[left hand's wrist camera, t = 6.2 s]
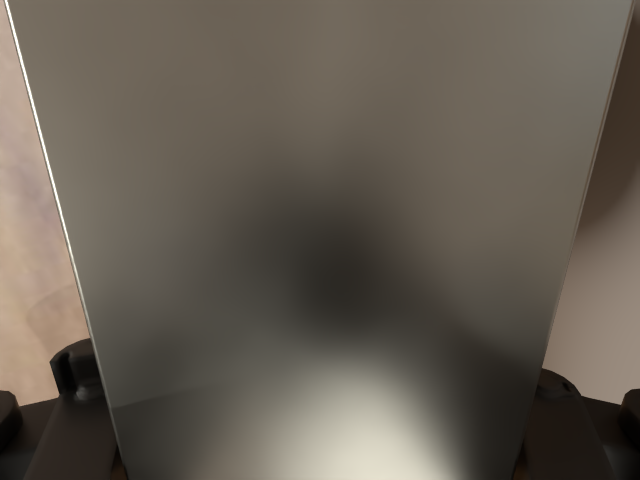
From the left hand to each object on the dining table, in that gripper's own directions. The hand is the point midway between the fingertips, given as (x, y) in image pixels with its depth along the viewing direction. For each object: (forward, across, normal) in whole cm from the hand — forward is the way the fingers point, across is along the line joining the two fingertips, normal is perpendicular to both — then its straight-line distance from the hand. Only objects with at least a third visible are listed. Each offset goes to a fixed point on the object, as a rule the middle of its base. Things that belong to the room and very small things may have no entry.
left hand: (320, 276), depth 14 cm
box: (+1, 0, -9) cm, 9 cm away
